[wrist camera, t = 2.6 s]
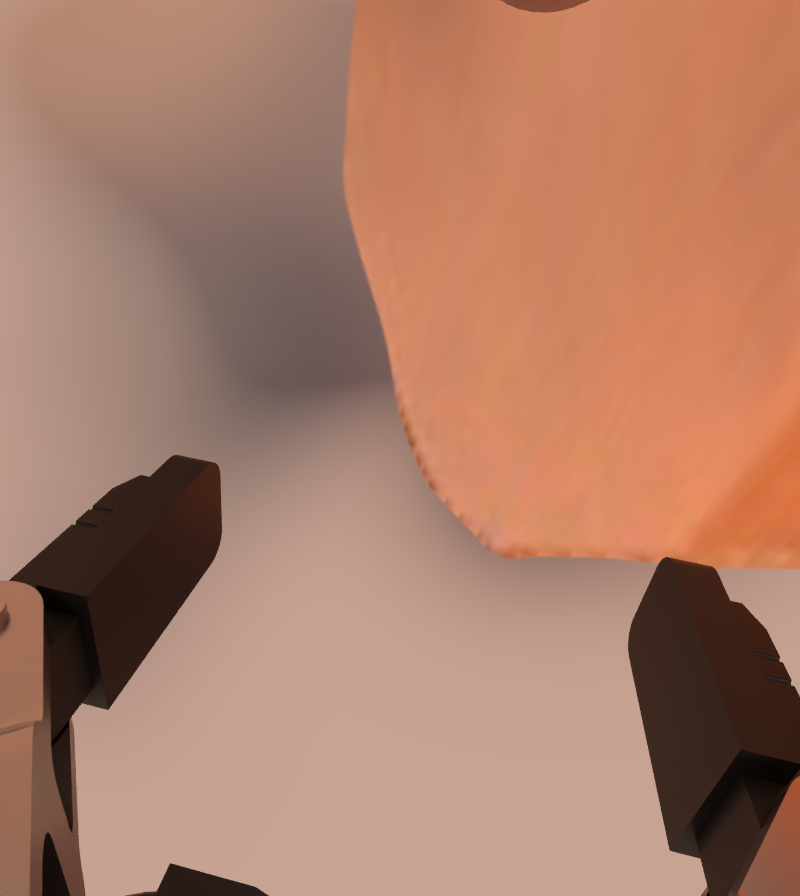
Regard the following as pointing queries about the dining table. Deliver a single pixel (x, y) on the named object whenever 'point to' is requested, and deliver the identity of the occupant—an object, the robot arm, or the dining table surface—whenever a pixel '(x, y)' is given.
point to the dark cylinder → (544, 4)
